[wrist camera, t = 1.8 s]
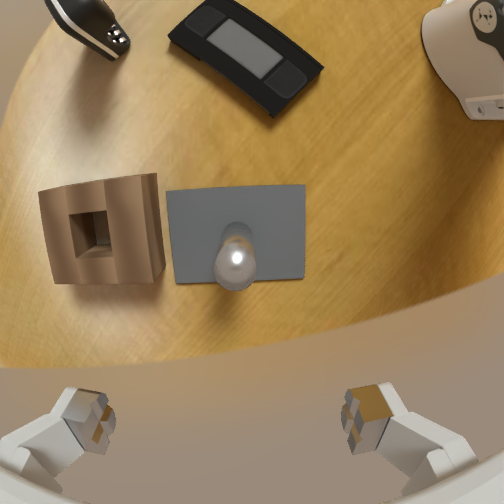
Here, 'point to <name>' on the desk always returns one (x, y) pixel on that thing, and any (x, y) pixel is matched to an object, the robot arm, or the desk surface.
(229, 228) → the peg
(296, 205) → the mat
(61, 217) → the hole block
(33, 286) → the desk surface
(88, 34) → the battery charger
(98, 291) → the desk surface
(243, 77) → the vhs tape
